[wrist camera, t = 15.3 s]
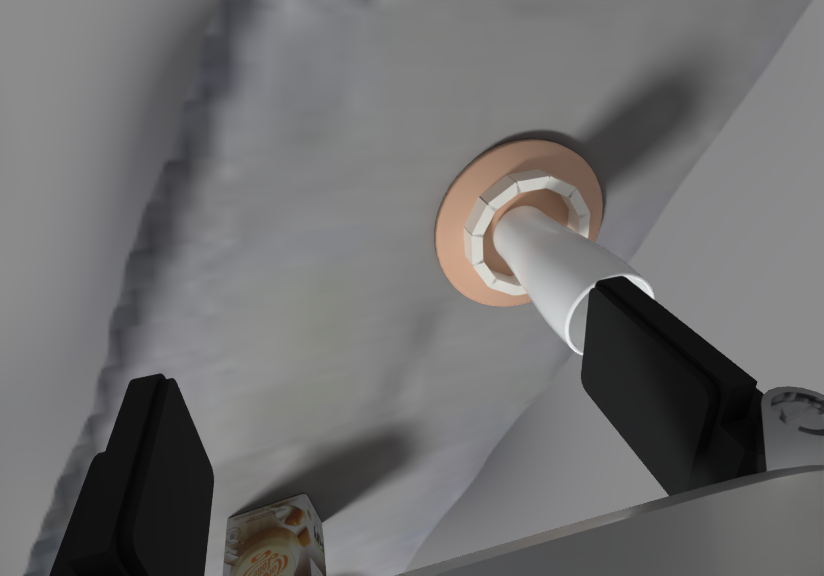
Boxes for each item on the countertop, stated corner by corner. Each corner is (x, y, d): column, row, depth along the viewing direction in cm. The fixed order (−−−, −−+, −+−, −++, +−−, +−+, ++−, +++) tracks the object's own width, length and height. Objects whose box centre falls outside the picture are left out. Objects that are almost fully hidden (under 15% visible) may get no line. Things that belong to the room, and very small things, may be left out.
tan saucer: (427, 154, 43) (437, 164, 40) (604, 125, 46) (624, 133, 43) (439, 315, 51) (449, 332, 49) (589, 284, 54) (605, 298, 51)
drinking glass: (563, 202, 47) (674, 278, 34) (537, 269, 50) (630, 362, 37) (497, 189, 45) (589, 266, 32) (473, 260, 48) (549, 356, 35)
